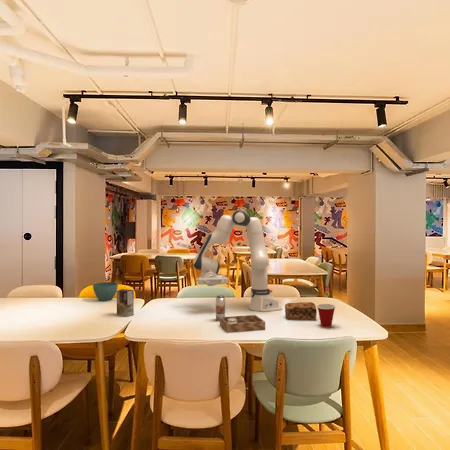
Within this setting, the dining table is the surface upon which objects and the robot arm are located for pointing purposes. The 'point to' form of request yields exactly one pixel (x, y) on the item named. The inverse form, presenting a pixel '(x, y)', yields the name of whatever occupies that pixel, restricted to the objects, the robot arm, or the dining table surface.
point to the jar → (232, 320)
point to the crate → (242, 323)
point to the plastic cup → (326, 314)
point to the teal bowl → (105, 290)
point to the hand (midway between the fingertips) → (215, 282)
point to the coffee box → (125, 302)
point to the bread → (300, 311)
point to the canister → (220, 307)
